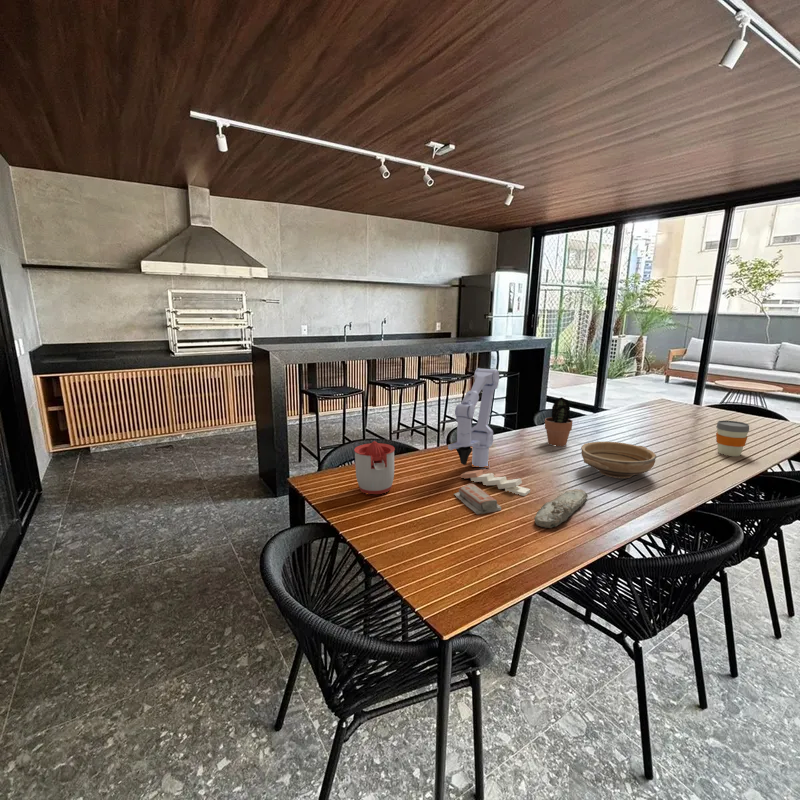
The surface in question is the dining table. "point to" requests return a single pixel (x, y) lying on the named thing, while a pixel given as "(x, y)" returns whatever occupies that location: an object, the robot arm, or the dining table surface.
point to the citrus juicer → (374, 467)
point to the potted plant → (559, 423)
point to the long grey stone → (560, 508)
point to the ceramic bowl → (618, 458)
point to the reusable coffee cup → (731, 437)
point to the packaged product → (477, 499)
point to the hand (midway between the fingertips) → (463, 464)
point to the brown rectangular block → (472, 474)
